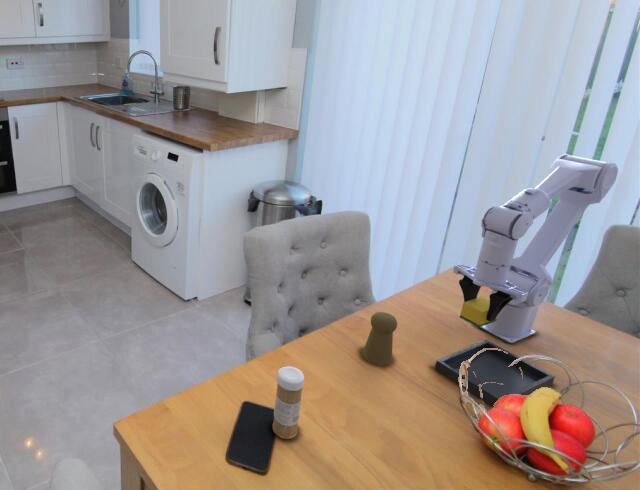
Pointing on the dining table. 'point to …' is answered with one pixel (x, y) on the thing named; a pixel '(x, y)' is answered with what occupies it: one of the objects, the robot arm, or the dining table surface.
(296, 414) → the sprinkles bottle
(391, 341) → the olive pawn
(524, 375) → the tray
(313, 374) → the dining table surface
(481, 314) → the sponge
